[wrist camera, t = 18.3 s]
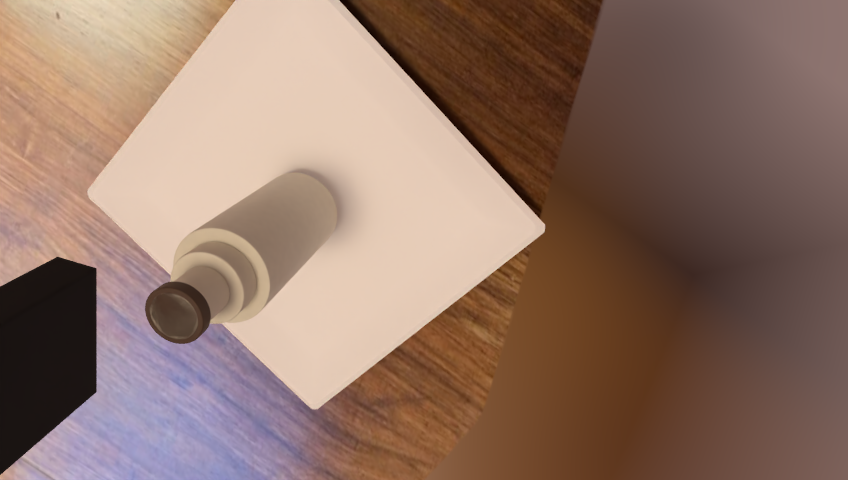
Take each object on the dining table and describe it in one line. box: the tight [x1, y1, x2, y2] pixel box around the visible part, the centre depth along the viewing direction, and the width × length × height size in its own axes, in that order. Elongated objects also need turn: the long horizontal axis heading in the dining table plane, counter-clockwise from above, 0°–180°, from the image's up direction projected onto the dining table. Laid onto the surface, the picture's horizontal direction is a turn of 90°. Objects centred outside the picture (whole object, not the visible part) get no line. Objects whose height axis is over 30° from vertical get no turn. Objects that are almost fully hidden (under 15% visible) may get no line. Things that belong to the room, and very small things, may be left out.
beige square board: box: [87, 0, 545, 409], centre depth 47 cm, size 26×26×2 cm
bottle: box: [145, 173, 337, 344], centre depth 38 cm, size 6×6×17 cm
